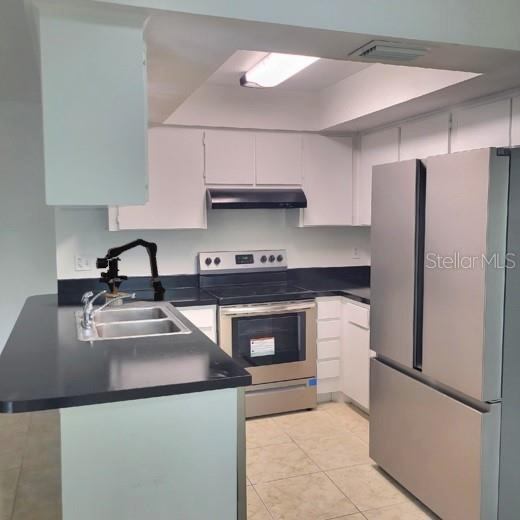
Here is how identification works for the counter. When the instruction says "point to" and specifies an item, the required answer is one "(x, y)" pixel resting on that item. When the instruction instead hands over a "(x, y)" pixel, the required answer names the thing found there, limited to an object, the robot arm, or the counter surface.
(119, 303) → the bowl
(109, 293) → the lid
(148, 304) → the mat
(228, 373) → the counter surface
